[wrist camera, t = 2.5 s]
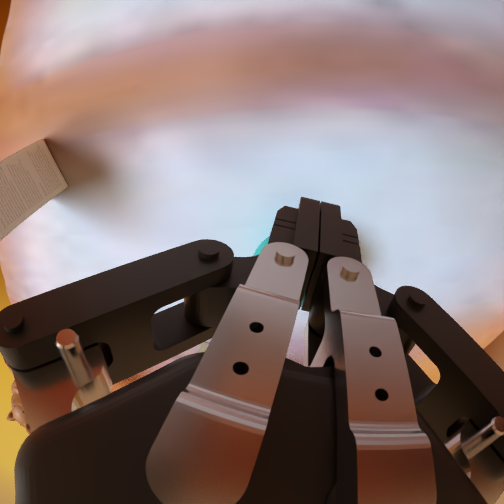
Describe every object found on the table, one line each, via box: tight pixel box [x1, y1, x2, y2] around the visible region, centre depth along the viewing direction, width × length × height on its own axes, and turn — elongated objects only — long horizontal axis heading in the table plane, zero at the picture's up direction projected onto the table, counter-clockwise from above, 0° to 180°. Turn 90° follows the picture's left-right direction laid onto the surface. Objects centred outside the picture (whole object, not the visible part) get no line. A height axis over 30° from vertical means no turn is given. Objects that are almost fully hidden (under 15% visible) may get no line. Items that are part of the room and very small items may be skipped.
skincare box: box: [0, 139, 68, 241], centre depth 23 cm, size 6×4×12 cm
